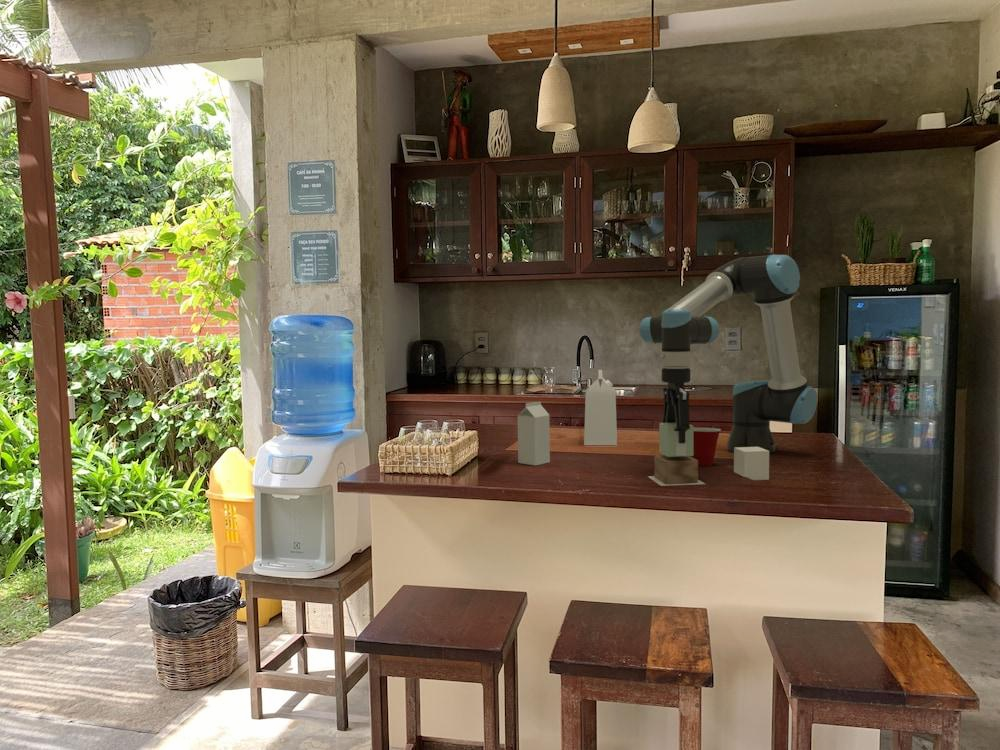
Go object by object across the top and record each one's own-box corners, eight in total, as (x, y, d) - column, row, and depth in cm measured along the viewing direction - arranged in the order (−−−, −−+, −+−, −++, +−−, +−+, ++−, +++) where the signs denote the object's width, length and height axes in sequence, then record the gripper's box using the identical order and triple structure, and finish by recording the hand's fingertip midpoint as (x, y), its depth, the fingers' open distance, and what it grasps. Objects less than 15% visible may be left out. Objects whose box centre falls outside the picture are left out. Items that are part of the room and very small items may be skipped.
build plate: (689, 478, 213) (689, 474, 213) (705, 487, 201) (705, 483, 201) (647, 479, 212) (647, 476, 212) (661, 489, 200) (661, 485, 200)
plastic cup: (721, 464, 231) (722, 425, 230) (719, 471, 221) (720, 430, 220) (685, 463, 235) (685, 424, 234) (681, 469, 225) (681, 429, 224)
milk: (584, 440, 280) (584, 369, 278) (616, 440, 279) (616, 369, 277) (584, 446, 268) (583, 372, 266) (617, 446, 267) (616, 371, 265)
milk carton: (550, 462, 239) (549, 402, 237) (535, 466, 234) (534, 404, 232) (532, 460, 244) (532, 400, 242) (517, 463, 238) (517, 402, 237)
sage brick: (684, 451, 210) (684, 422, 209) (693, 455, 203) (693, 425, 202) (659, 452, 209) (659, 423, 208) (667, 456, 202) (667, 426, 201)
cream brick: (757, 474, 217) (757, 446, 216) (768, 479, 210) (769, 450, 209) (733, 475, 216) (734, 447, 215) (744, 480, 209) (744, 451, 208)
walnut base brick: (686, 475, 211) (686, 454, 211) (698, 482, 202) (698, 460, 202) (654, 477, 210) (654, 455, 210) (664, 484, 201) (664, 461, 201)
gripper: (650, 365, 214) (650, 447, 215) (674, 370, 194) (674, 460, 195) (676, 364, 214) (676, 446, 216) (703, 369, 195) (703, 459, 196)
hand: (675, 452), depth 206 cm, fingers closed on sage brick, 7 cm apart
